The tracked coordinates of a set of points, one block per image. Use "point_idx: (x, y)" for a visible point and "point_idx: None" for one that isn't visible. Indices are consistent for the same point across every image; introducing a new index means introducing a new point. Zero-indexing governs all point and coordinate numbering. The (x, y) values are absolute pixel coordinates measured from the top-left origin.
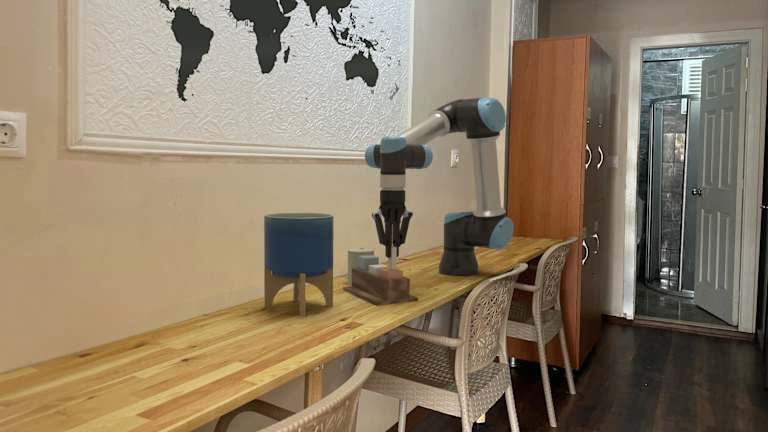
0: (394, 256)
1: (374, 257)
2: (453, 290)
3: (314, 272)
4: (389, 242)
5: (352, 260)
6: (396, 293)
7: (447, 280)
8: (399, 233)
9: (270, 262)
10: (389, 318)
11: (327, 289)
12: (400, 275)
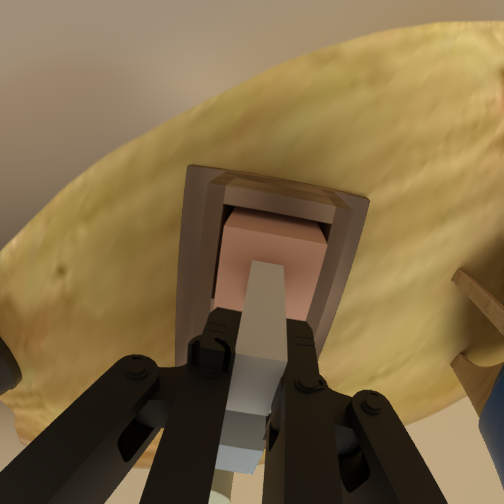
0: (263, 304)
1: None
2: (32, 231)
3: None
4: (319, 407)
5: (230, 476)
6: (287, 185)
7: (18, 322)
8: (155, 472)
9: None
10: (428, 48)
11: (493, 298)
12: (244, 221)
